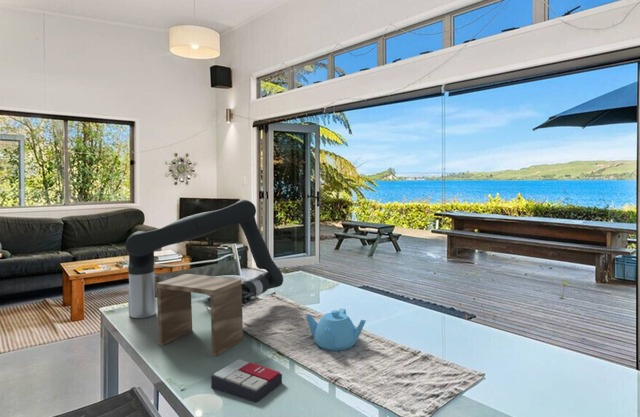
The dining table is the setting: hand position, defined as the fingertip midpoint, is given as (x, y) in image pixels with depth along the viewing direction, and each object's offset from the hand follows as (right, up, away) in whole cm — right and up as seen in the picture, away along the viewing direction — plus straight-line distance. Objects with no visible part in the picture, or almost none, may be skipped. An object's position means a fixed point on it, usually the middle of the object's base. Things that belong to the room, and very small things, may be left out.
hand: (222, 302), depth 148 cm
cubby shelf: (-5, -11, -10) cm, 15 cm away
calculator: (+15, -14, -38) cm, 43 cm away
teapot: (+39, -11, -12) cm, 43 cm away
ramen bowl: (-9, -7, +41) cm, 43 cm away
